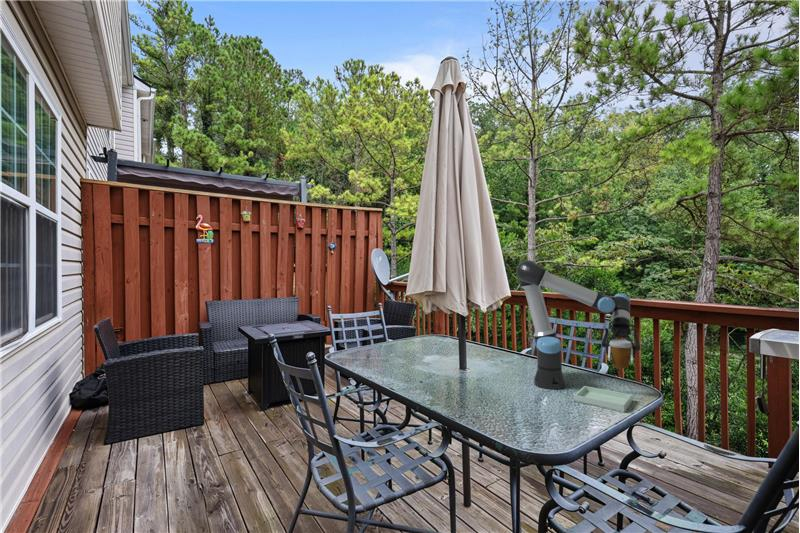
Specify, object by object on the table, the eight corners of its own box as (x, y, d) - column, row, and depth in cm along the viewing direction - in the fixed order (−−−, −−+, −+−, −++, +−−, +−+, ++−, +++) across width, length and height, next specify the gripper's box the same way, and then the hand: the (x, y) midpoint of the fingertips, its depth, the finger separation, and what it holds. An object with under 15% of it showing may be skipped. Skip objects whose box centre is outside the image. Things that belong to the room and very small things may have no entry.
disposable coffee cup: (620, 370, 177) (620, 344, 177) (604, 365, 186) (604, 340, 186) (637, 368, 179) (637, 342, 179) (620, 363, 189) (620, 338, 188)
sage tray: (573, 401, 174) (573, 395, 174) (584, 392, 186) (584, 385, 186) (624, 412, 161) (624, 405, 161) (632, 401, 173) (632, 394, 173)
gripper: (646, 327, 190) (647, 367, 177) (597, 324, 201) (595, 362, 188) (646, 317, 185) (647, 358, 172) (596, 315, 197) (594, 353, 183)
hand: (620, 360), depth 180 cm, fingers closed on disposable coffee cup, 8 cm apart
